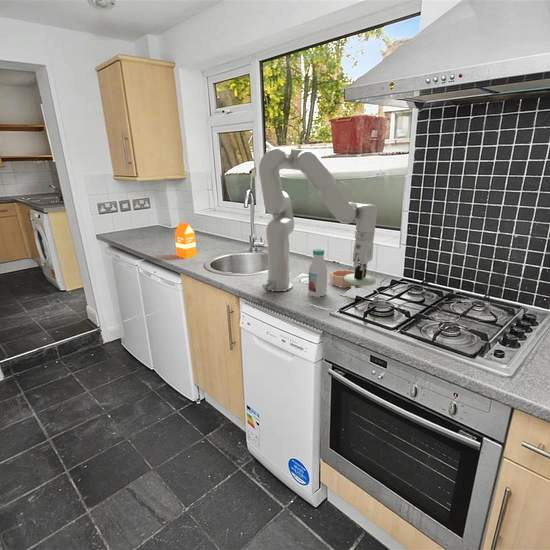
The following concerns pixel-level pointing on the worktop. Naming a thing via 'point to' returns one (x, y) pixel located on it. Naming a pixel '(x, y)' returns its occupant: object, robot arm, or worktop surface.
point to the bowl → (340, 278)
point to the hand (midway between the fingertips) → (359, 277)
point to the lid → (363, 282)
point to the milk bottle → (317, 274)
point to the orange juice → (185, 241)
